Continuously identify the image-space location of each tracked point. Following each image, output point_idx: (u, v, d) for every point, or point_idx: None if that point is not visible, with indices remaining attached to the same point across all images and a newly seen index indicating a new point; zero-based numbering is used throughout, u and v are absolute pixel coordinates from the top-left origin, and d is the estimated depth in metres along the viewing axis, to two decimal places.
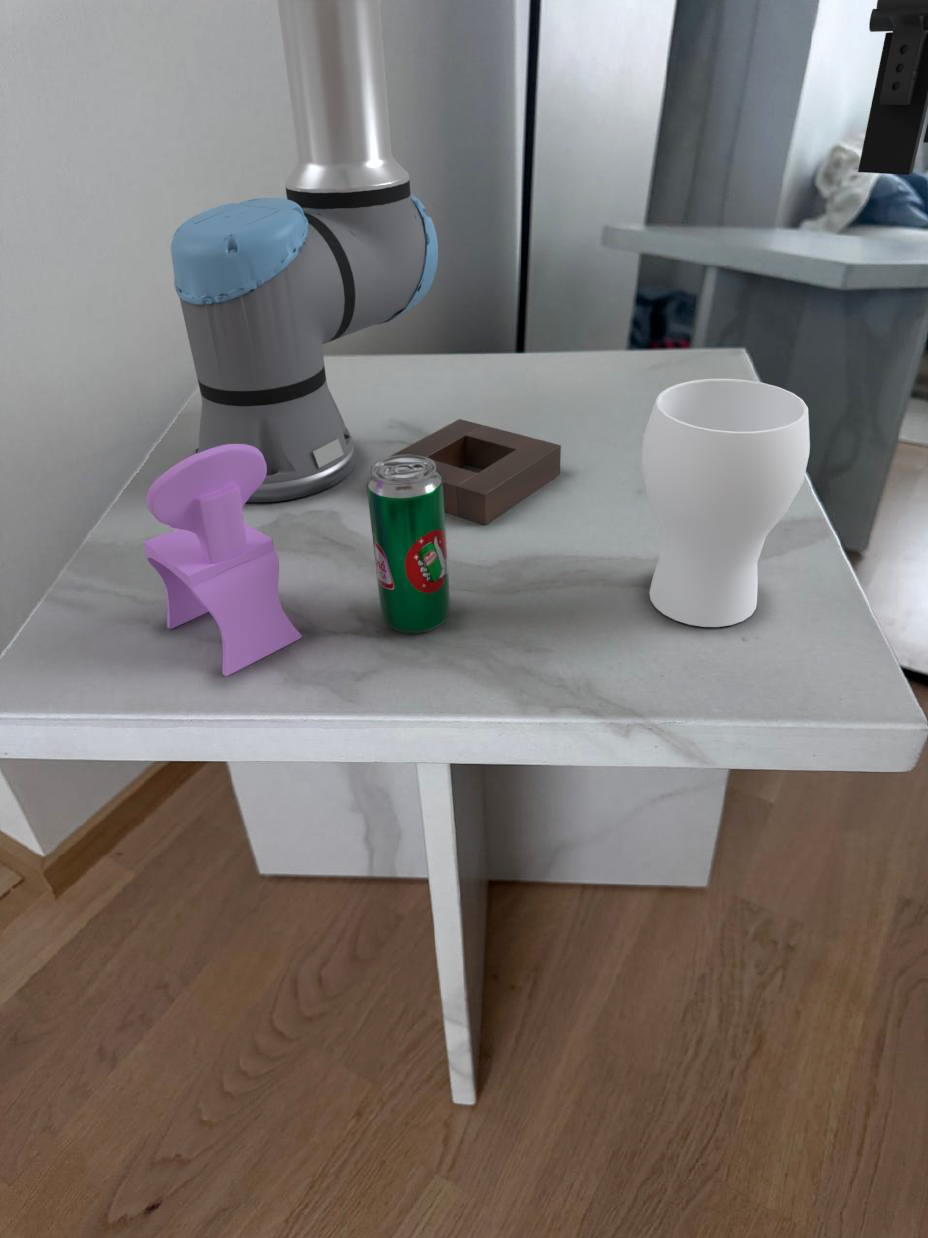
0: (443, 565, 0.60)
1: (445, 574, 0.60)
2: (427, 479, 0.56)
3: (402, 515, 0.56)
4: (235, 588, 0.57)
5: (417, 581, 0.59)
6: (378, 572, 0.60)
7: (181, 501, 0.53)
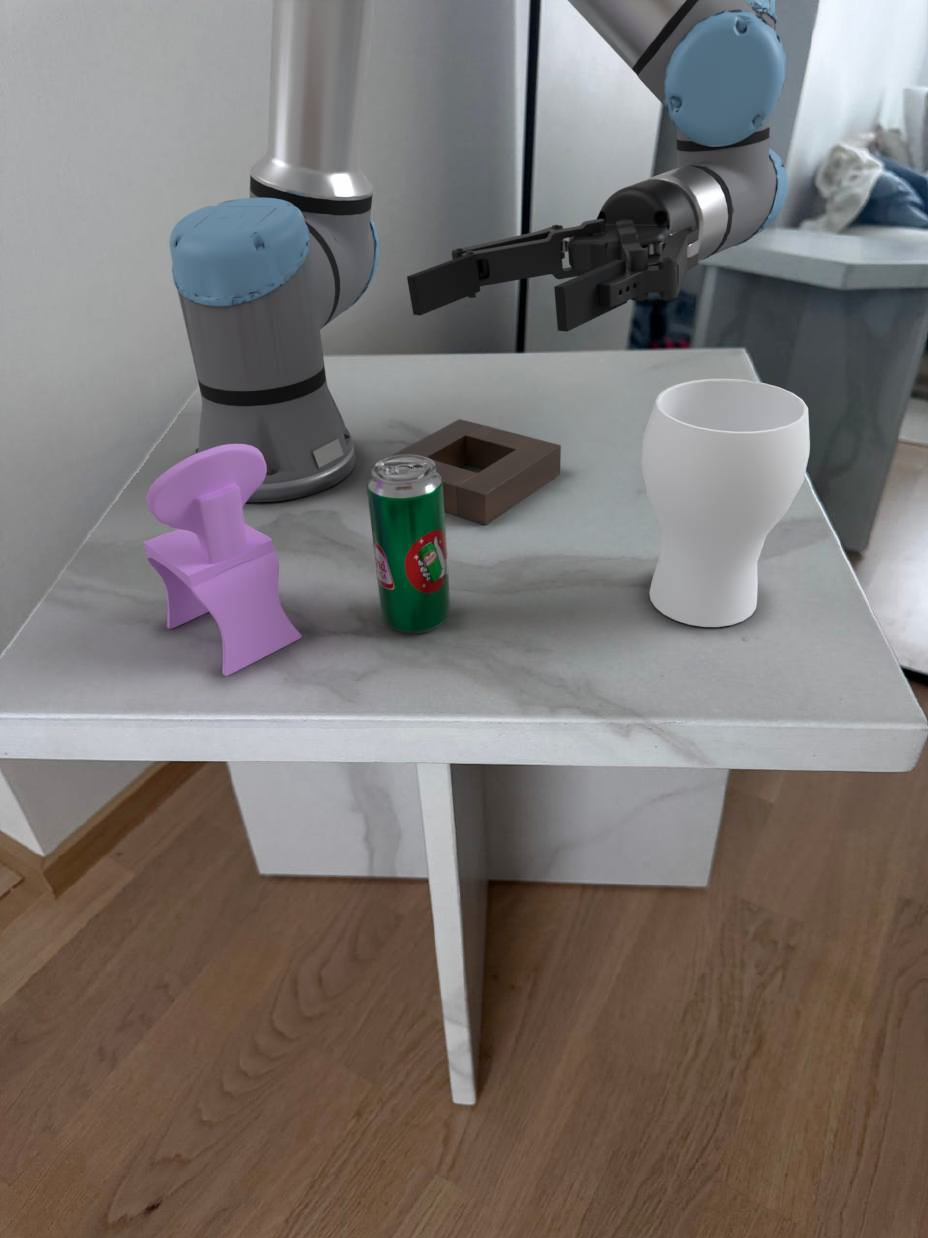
0: (443, 565, 0.60)
1: (445, 574, 0.60)
2: (427, 479, 0.56)
3: (402, 515, 0.56)
4: (235, 588, 0.57)
5: (417, 581, 0.59)
6: (378, 572, 0.60)
7: (181, 501, 0.53)
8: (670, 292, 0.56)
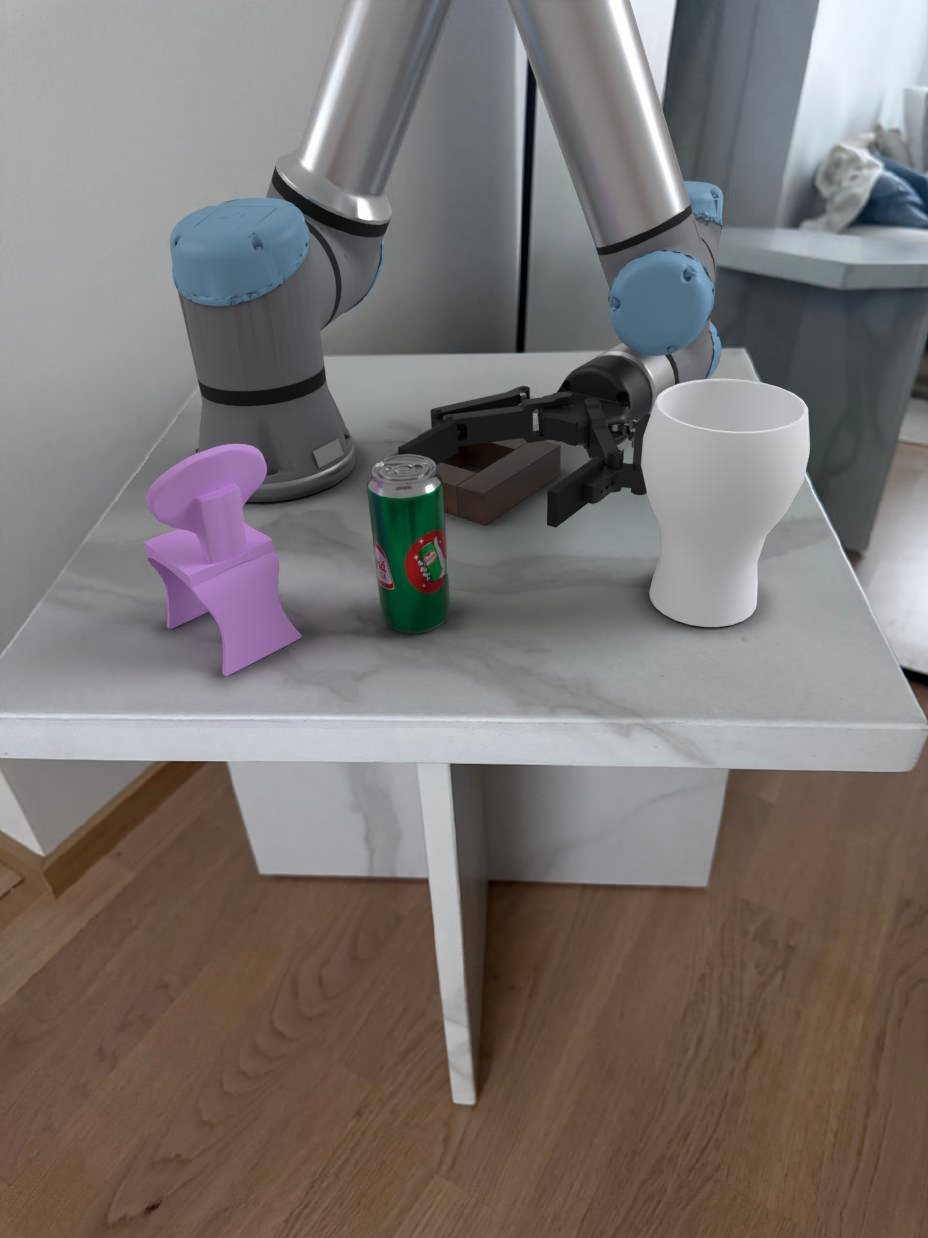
0: (443, 565, 0.60)
1: (445, 574, 0.60)
2: (427, 479, 0.56)
3: (402, 515, 0.56)
4: (235, 588, 0.57)
5: (417, 581, 0.59)
6: (378, 572, 0.60)
7: (181, 501, 0.53)
8: (642, 489, 0.64)
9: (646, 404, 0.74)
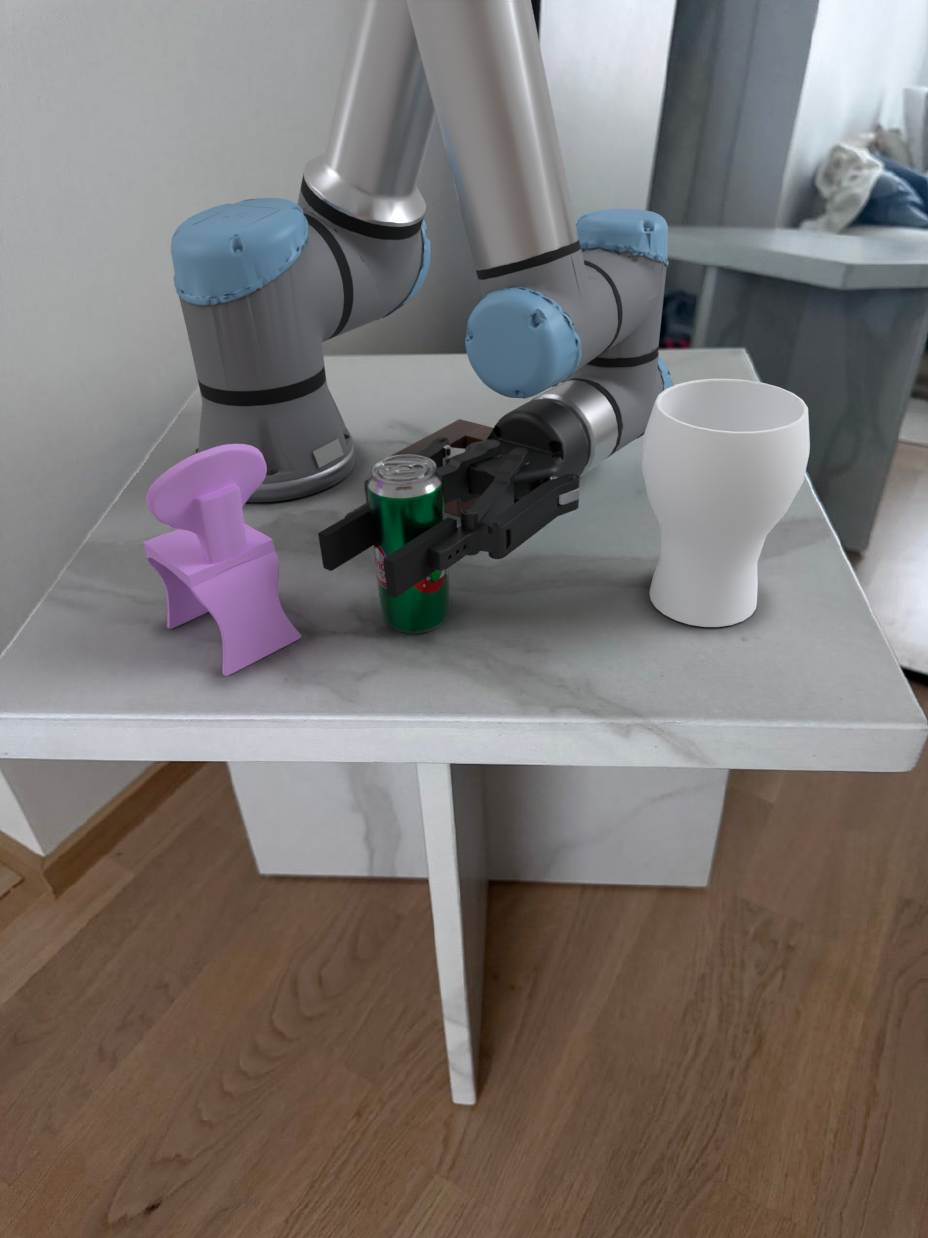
0: None
1: (445, 574, 0.60)
2: (427, 479, 0.55)
3: (402, 515, 0.56)
4: (235, 588, 0.57)
5: None
6: (378, 572, 0.60)
7: (181, 501, 0.53)
8: (495, 553, 0.58)
9: (583, 453, 0.68)
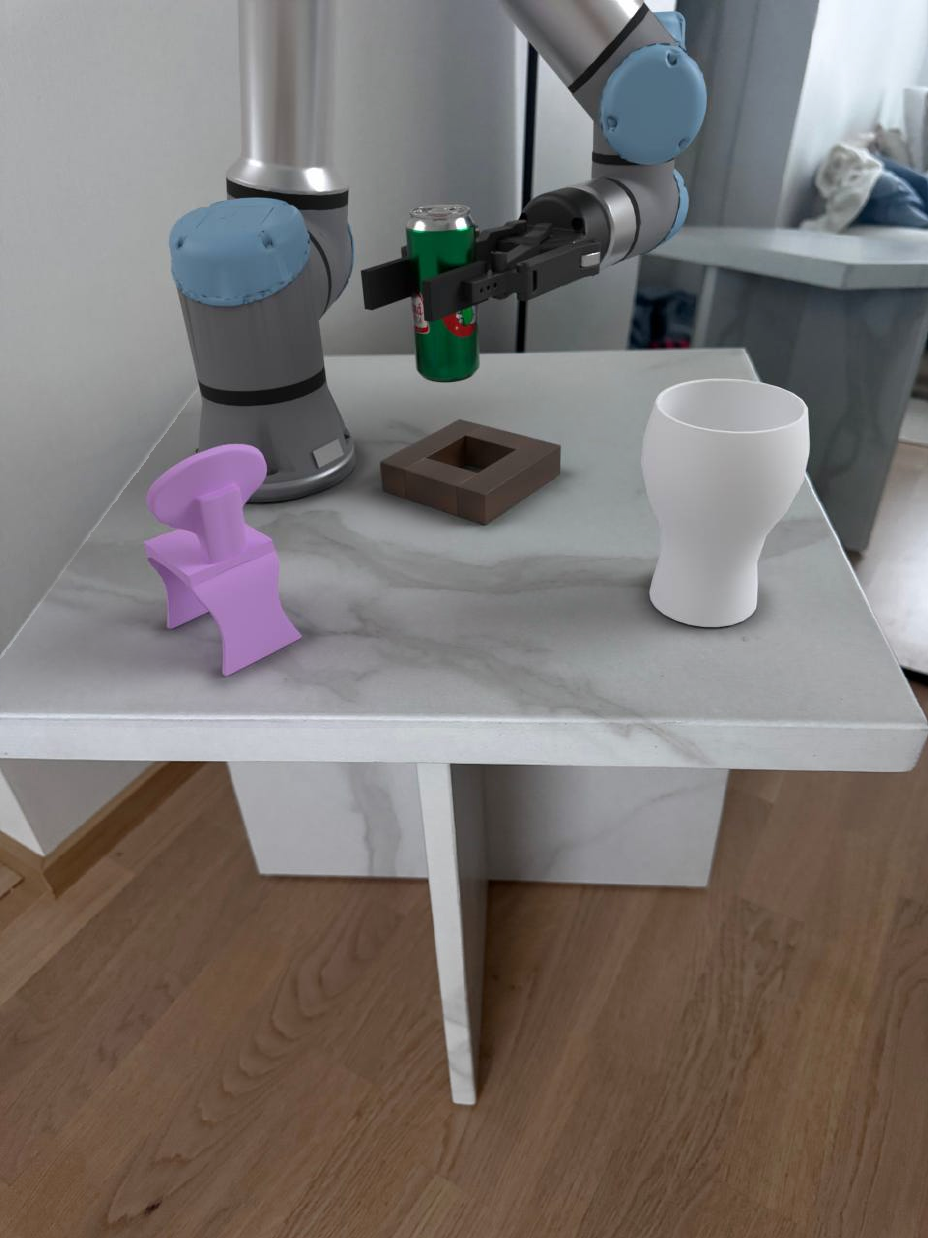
0: (474, 311, 0.65)
1: (476, 322, 0.65)
2: (461, 215, 0.61)
3: (438, 249, 0.61)
4: (235, 588, 0.57)
5: (450, 323, 0.64)
6: (414, 319, 0.65)
7: (181, 501, 0.53)
8: (523, 294, 0.63)
9: (603, 235, 0.73)
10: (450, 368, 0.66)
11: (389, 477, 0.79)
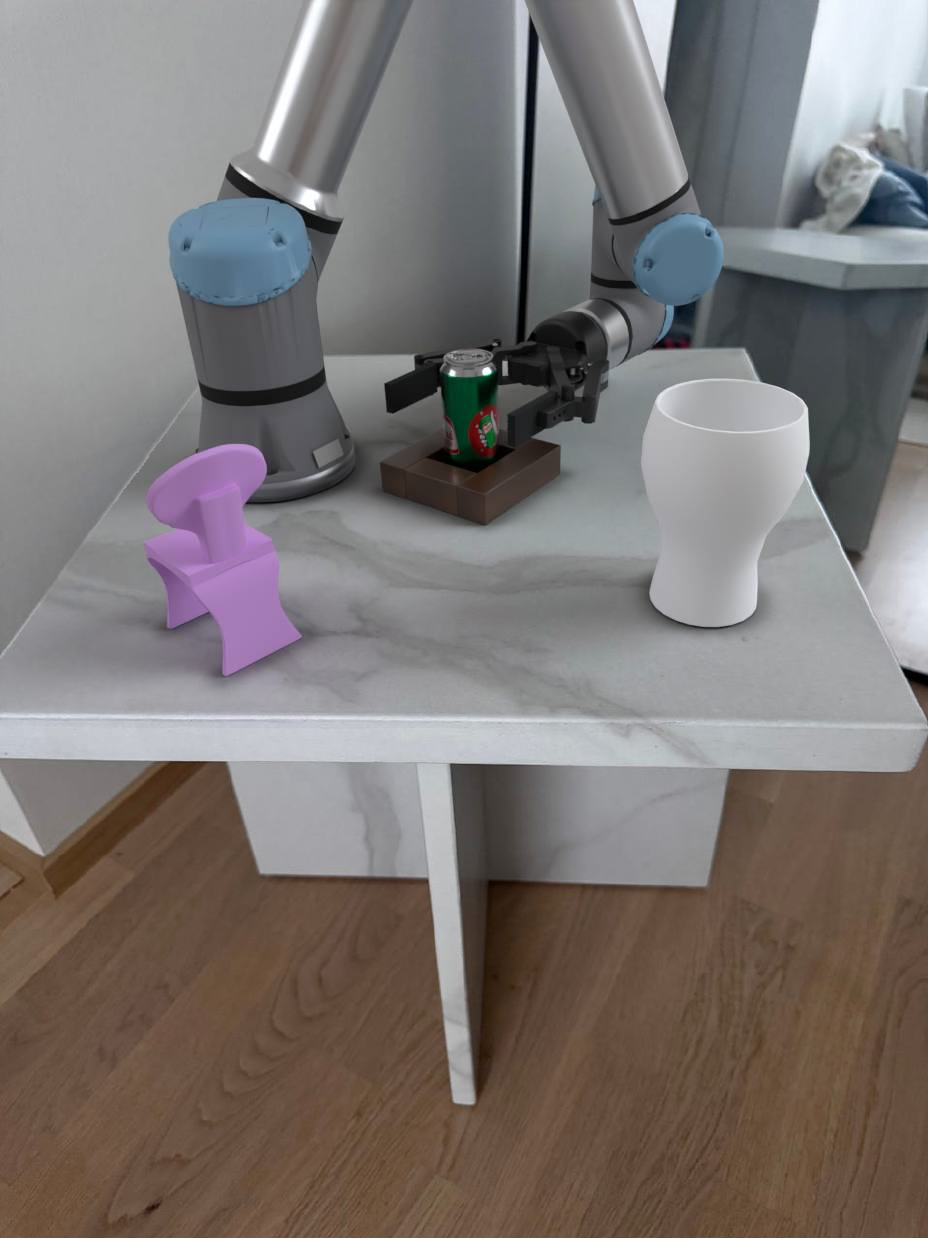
0: (496, 436, 0.77)
1: (497, 443, 0.78)
2: (487, 363, 0.73)
3: (468, 391, 0.74)
4: (235, 588, 0.57)
5: (477, 447, 0.77)
6: (446, 441, 0.78)
7: (181, 501, 0.53)
8: (590, 418, 0.75)
9: (601, 353, 0.85)
10: None
11: (389, 477, 0.79)
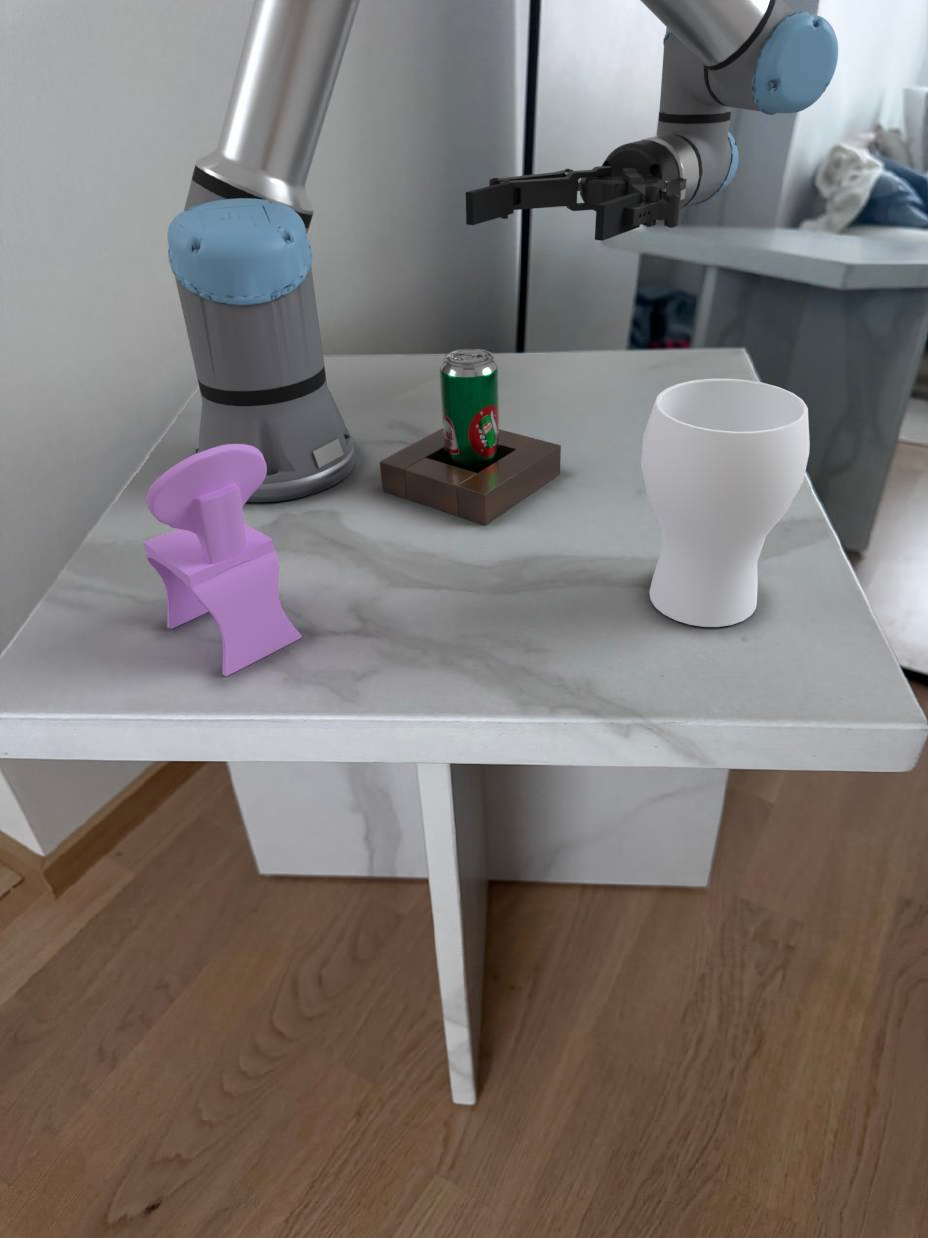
0: (496, 436, 0.77)
1: (497, 443, 0.78)
2: (487, 363, 0.73)
3: (468, 391, 0.74)
4: (235, 588, 0.57)
5: (477, 447, 0.77)
6: (446, 441, 0.78)
7: (181, 501, 0.53)
8: (673, 220, 0.75)
9: None
10: None
11: (389, 477, 0.79)
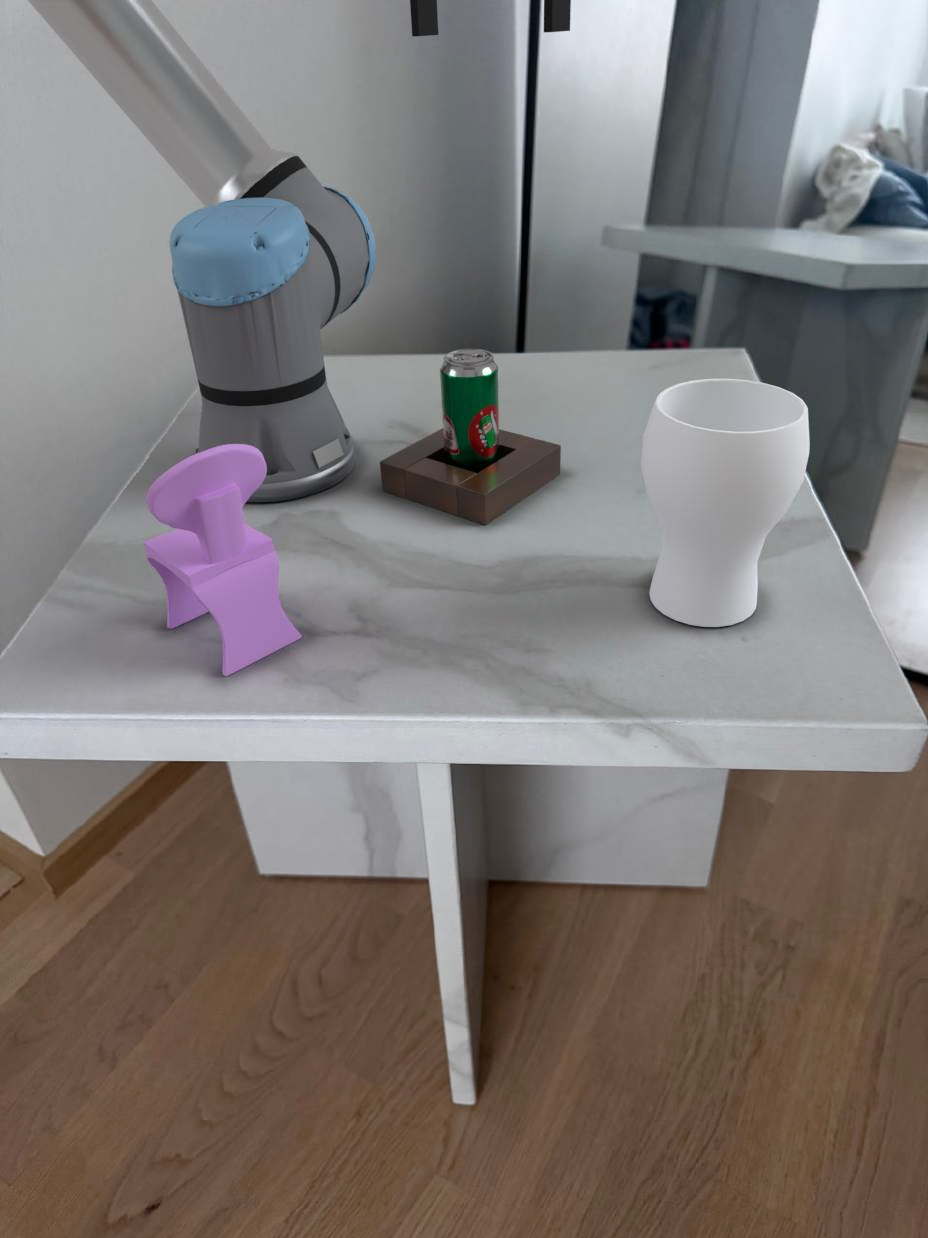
0: (496, 436, 0.77)
1: (497, 443, 0.78)
2: (487, 363, 0.73)
3: (468, 391, 0.74)
4: (235, 588, 0.57)
5: (477, 447, 0.77)
6: (446, 441, 0.78)
7: (181, 501, 0.53)
8: None
9: None
10: None
11: (389, 477, 0.79)
